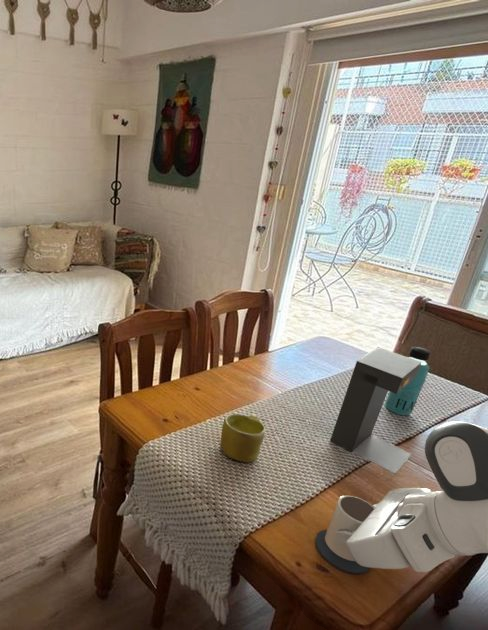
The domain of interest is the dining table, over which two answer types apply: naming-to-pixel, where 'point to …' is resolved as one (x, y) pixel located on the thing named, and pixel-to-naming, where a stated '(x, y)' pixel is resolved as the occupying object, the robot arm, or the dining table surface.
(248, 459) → the mug
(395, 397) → the beverage bottle
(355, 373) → the coffee maker
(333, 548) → the coffee cup
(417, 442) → the dining table surface
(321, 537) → the coaster
